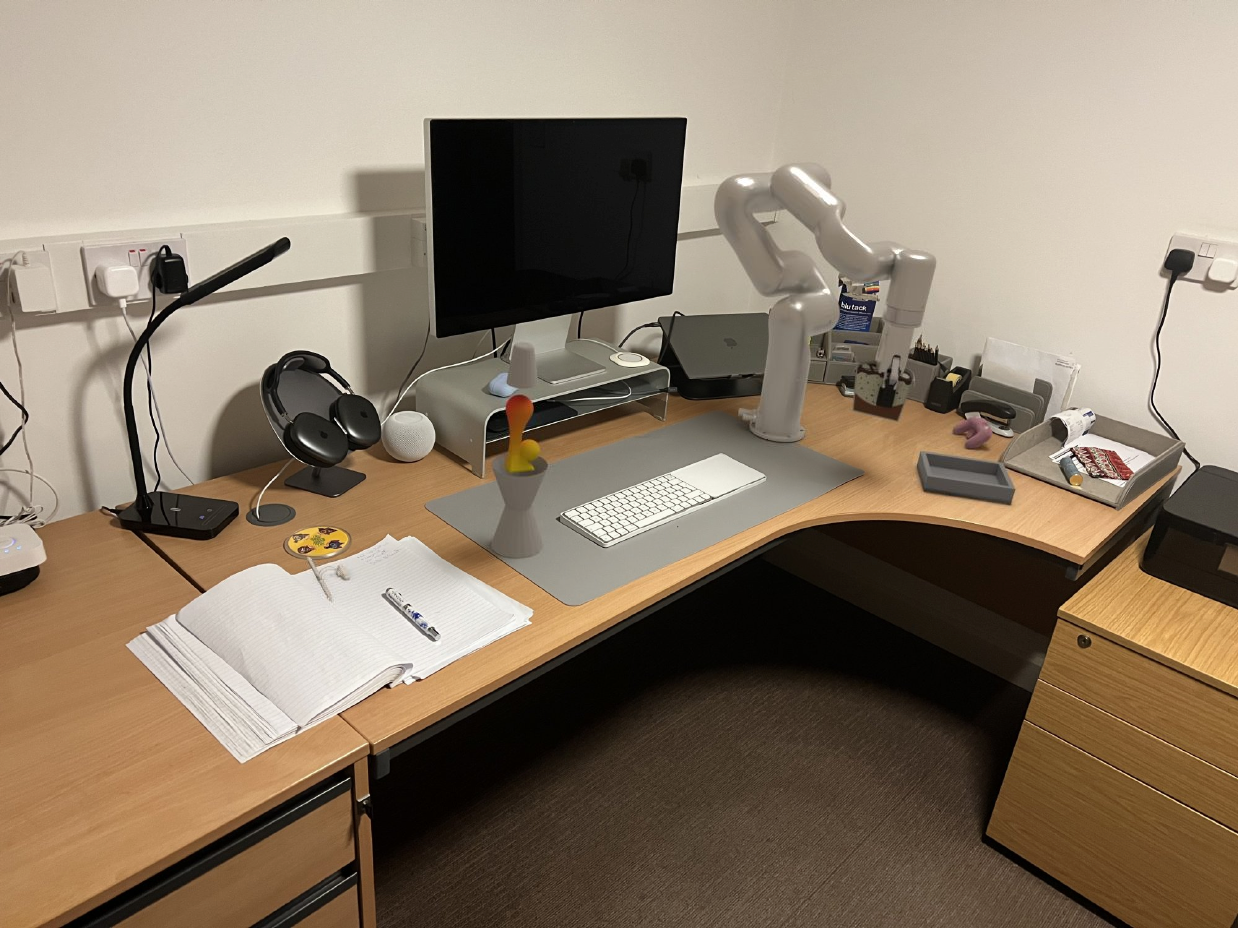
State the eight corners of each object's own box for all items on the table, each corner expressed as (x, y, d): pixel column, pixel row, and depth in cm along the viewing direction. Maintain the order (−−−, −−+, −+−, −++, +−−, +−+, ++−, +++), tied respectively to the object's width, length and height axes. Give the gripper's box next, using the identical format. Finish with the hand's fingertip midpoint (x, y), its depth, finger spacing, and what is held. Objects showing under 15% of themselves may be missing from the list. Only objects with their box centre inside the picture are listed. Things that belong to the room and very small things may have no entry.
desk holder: (923, 491, 179) (927, 476, 177) (916, 465, 190) (920, 450, 189) (1010, 504, 176) (1015, 489, 175) (998, 477, 188) (1002, 462, 186)
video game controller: (979, 456, 201) (999, 432, 199) (963, 447, 201) (984, 423, 198) (964, 439, 210) (984, 416, 208) (949, 430, 209) (969, 406, 207)
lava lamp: (498, 562, 142) (503, 355, 127) (483, 535, 149) (486, 336, 134) (551, 554, 146) (562, 352, 131) (534, 527, 153) (542, 334, 138)
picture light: (305, 559, 139) (305, 548, 138) (333, 554, 141) (333, 542, 141) (330, 605, 129) (329, 593, 128) (360, 599, 131) (359, 587, 130)
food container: (911, 412, 182) (922, 368, 177) (905, 423, 177) (916, 378, 172) (852, 398, 186) (861, 354, 182) (845, 409, 182) (854, 364, 177)
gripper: (880, 301, 180) (861, 383, 188) (886, 324, 165) (866, 413, 172) (917, 306, 179) (897, 389, 187) (927, 330, 163) (905, 419, 171)
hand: (882, 399), depth 179 cm, fingers closed on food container, 6 cm apart
